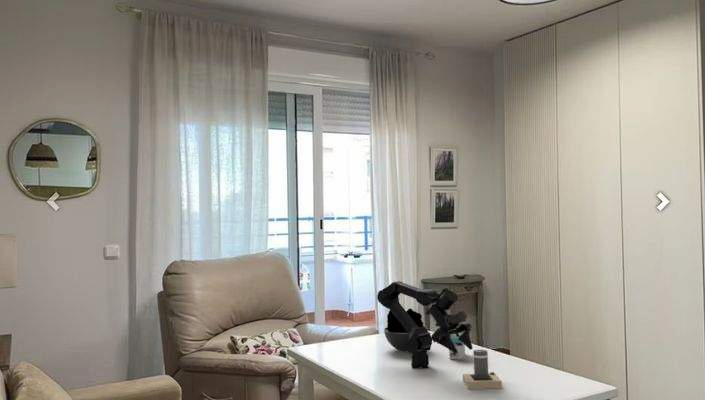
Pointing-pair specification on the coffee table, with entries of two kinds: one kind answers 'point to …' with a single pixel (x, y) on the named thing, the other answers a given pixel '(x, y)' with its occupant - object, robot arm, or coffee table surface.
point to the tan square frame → (482, 381)
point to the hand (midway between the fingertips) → (464, 350)
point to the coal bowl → (400, 330)
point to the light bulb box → (459, 347)
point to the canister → (480, 365)
